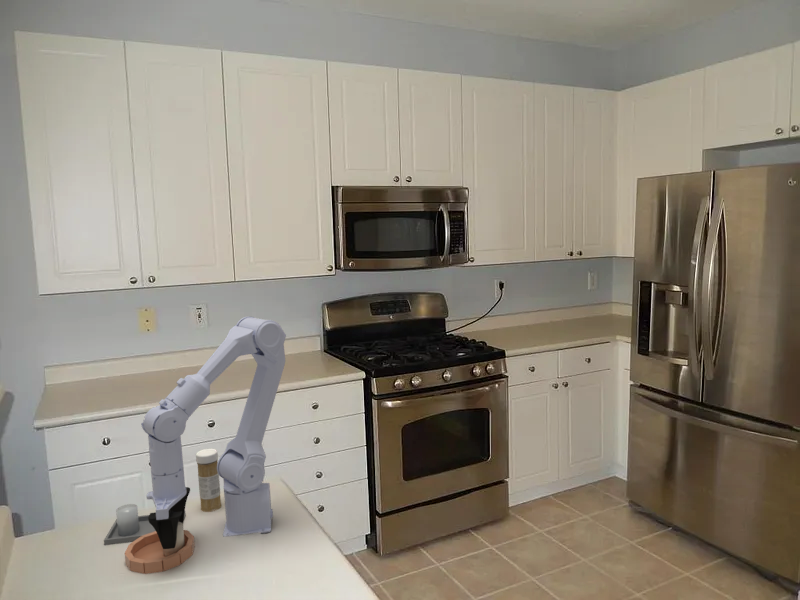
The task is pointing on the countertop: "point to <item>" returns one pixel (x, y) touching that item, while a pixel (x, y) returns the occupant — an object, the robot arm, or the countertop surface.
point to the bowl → (156, 554)
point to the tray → (143, 530)
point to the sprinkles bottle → (208, 480)
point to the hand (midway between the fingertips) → (173, 537)
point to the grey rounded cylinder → (127, 520)
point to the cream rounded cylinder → (179, 542)
